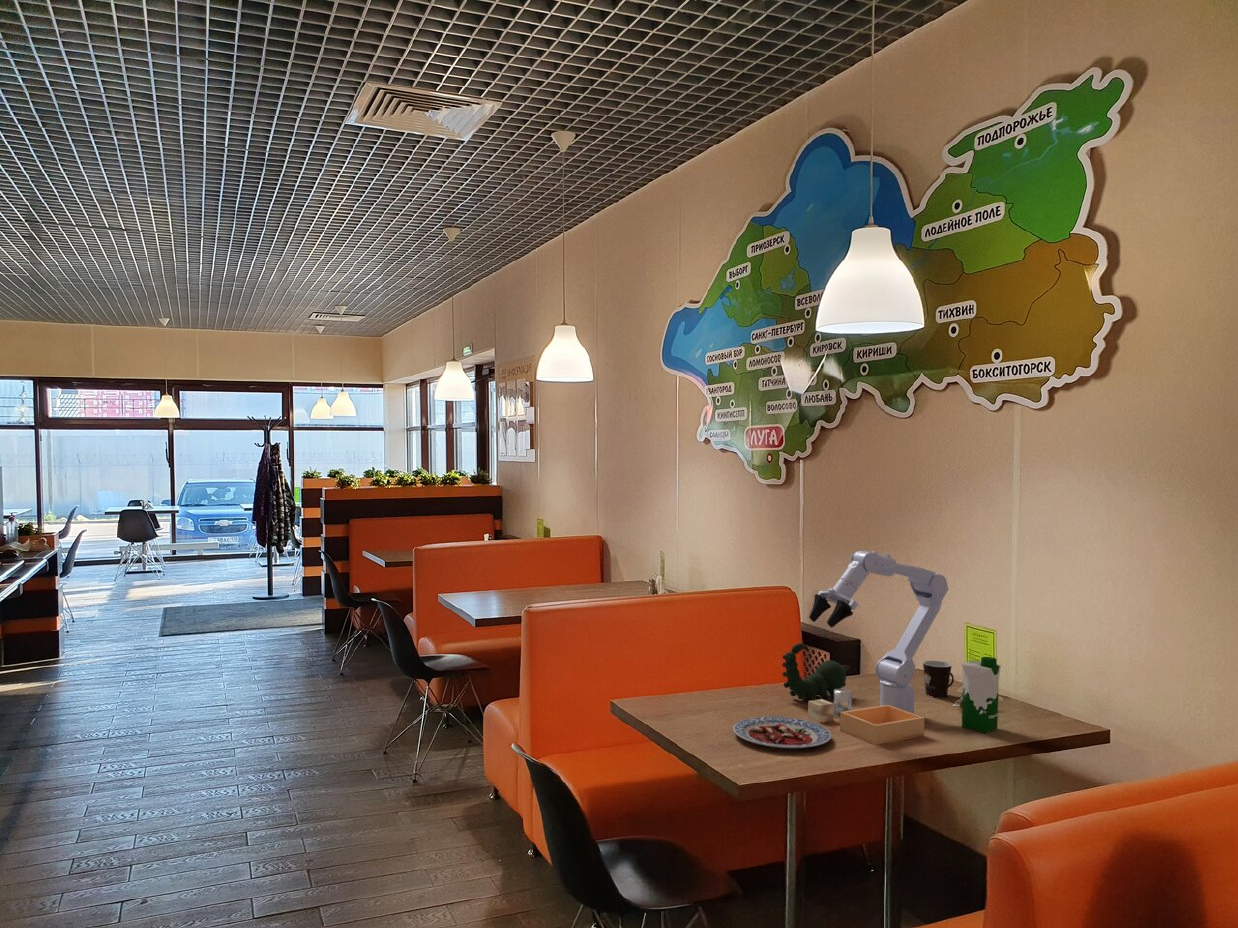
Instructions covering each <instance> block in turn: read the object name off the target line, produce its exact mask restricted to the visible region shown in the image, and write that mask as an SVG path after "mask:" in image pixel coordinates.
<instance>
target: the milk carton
mask: <svg viewBox="0 0 1238 928" xmlns="http://www.w3.org/2000/svg"><path fill="white" fill-rule="evenodd" d="M980 659H981V660H980V661H979V660H971V661H968V662H965V663H963V664H961V666H962V694H961V695H962V697H961V699H962V700H961V728H963V729H966V730H972V731H974V732H975V731H976V732H979V733H984V734H988V733H990V732H993V731H995V730H997V729H998V721H999V720H998V718H999V717H998V716H999V714H998V713H999V684H1000V683H999V682H1000V681H999V680H1000V674H1001V665H1000V664H999V663H998V664H997V661H998V660H997V658H996V657H993V656H982V657H981V658H980Z"/></svg>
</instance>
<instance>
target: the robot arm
mask: <svg viewBox="0 0 1238 928" xmlns="http://www.w3.org/2000/svg"><path fill="white" fill-rule="evenodd" d="M870 573H871V574H876V575H879V576H884V577H893V575H895V574H896V575H899V576H903V577H907V582H909V586H910V588H911V590H912V593H913V595H914V597H915V599H916V600H917V601H918V604H919V606H918V607H917V610H916V611H915V613H914V615H913V616H912V618H911V620H910V622H909V623H908V625H907V627H906V629H905V631H904V632H903V634H902V635H901V638H900V639H899V641H898V642H897V644H896V646H895V648H894V649H892V650H889V651H887V652H885V654H884V656H882V658H880V659H879V660H878V661H877V663H876V665H875V675H876V676H877V678H878V679H879V683H880V693H879V695H880V699H879V700H880V702H879V703H880V704H879V706H883V705H890V706H893V707H895V708H898V709H901V710H904V711H907V712H910V713H912V714H915V715H917V714H916V712H915V690H914V688H913V686H912V685H911V681H912V679H913V676H914V671H915V670H916V665H915V662H914V660H913V658H914V656H915V654H916V653H917V651H918V649H919V647H920V646H921V644H922V643H923V640H924V638H925V636H926V635H927V634H928V632H929V629H930V628H931V626H932V624H933V622H934V621H935V619H936V617H937V615H938V613H939V611H940V610H941V606H942V603H943V600H944V598H945V596H946V595H947V592H948V591H949V586H948V581H947V578H946V577H945V575H943V574H941V573H940V574H939V573H938V574H937V572H935V571H932V570H929V569H926V568H924V567H917V566H915V565H914V566H913V565H908V564H905V563H899V562H898V563H897V560H896V559H895V558H894V557H892V556H891V554H886V553H883V554H878V552H876V551H871V552H870V551H864V550H858V551H856V552H855V553H852V554H851V556H850V561H849V564H848V565H847V568H846V570H845V571H844V573H843V574H842V575H841V576H840V578H839V579H838V580H837V581H836V583H835V584H834V585H833V587H832V588H831V587H829V588H828V589H827V590H819V591H818V593H815V595H814V599H813V605H812V608H811V610H810V614H809V616H808V618H809V619H810V621H812V622H813V623H814V622H816V621H817V620H818V619H819V618H820V617H821V615H823V614H824V613H825V612H827V610H829V609H830V608H831V607H832V605H831V604H830V603H832V604H833V603H834V604H835V607H834V609H833V611H832V613H831V614H830V616H829V617H828V619H827V621H826V624H827V625H828V626H829V627H830V628H831V629H832V628H834V627H835V626H836V625H838V624H839V623H840V622H842V621H843V620H845V619H846V618H849V617H851V616H853V614H854V612H853V611H854V610H856V609H857V607H858V606H859V604H858V602H857V601H856V600H854V599H852V597H854V595H855V593H856V592H857V591H858V590H859V588H860V587H861V586H862V584H863V583H864V581H865V580H866V578H867V577H868V576H869V575H870ZM829 602H830V603H829ZM852 610H853V611H852Z"/></svg>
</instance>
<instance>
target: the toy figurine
mask: <svg viewBox="0 0 1238 928" xmlns="http://www.w3.org/2000/svg"><path fill="white" fill-rule="evenodd" d="M802 650H805V651H808V650H809V648H808V647H807V645H806V644H804V643H801V642H799V643H795V644H794V645H793V646H792V647H791V651H787V652H786V653H785V654H783V655H782V659H783V660H785V662H782V667H783V668H785V669H786V670H785V671H783V672H782V676H783V677H785V678H786V679H787V680H786V681H785V682H783V687H784V688H785V689H787V688H788V689H789V690H790V691H789V694H790V695H789V696H791V697H795V696H797V699H798V700H804V699H807V700H809V701H813V700H817V696H819V697H820V699H823V700H825V699H827V698H828V696H829V695H830V696H831V695H832V696H831V697H834V689H843V688H844V687H845V686H846V680H847V673H846V672H847V671H848V670H849V669H850V667H851V666H850V665H841V664H840V663H839V662H837V661H834V660H825V661H823V662H822V663H819V665H818V666H817V667H816V670H815V672H814V673H811V674H810V675H809V676H808V677H806V678H802V676H801V674H800V670H799V669H798V667H799V664H798V662H797V656H796V655H797V654H799V653H800V652H801V651H802Z"/></svg>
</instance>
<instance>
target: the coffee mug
mask: <svg viewBox="0 0 1238 928" xmlns="http://www.w3.org/2000/svg"><path fill="white" fill-rule="evenodd" d="M922 665H923V666H922V667H923V677H924V688H925V695H926V694H927V695H926V696H928V695H929V696H928V697H930V696H933V697H932V698H936V697H945V698H947V697H948V691H949V688H951V686H952V685H954V682H955V679H954V678H955V677H954V675H953V673H952V664H951V663H949V662H946V661H940V660H924V661H922ZM950 677H951V678H950ZM950 679H951V682H950ZM946 696H947V697H946Z"/></svg>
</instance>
